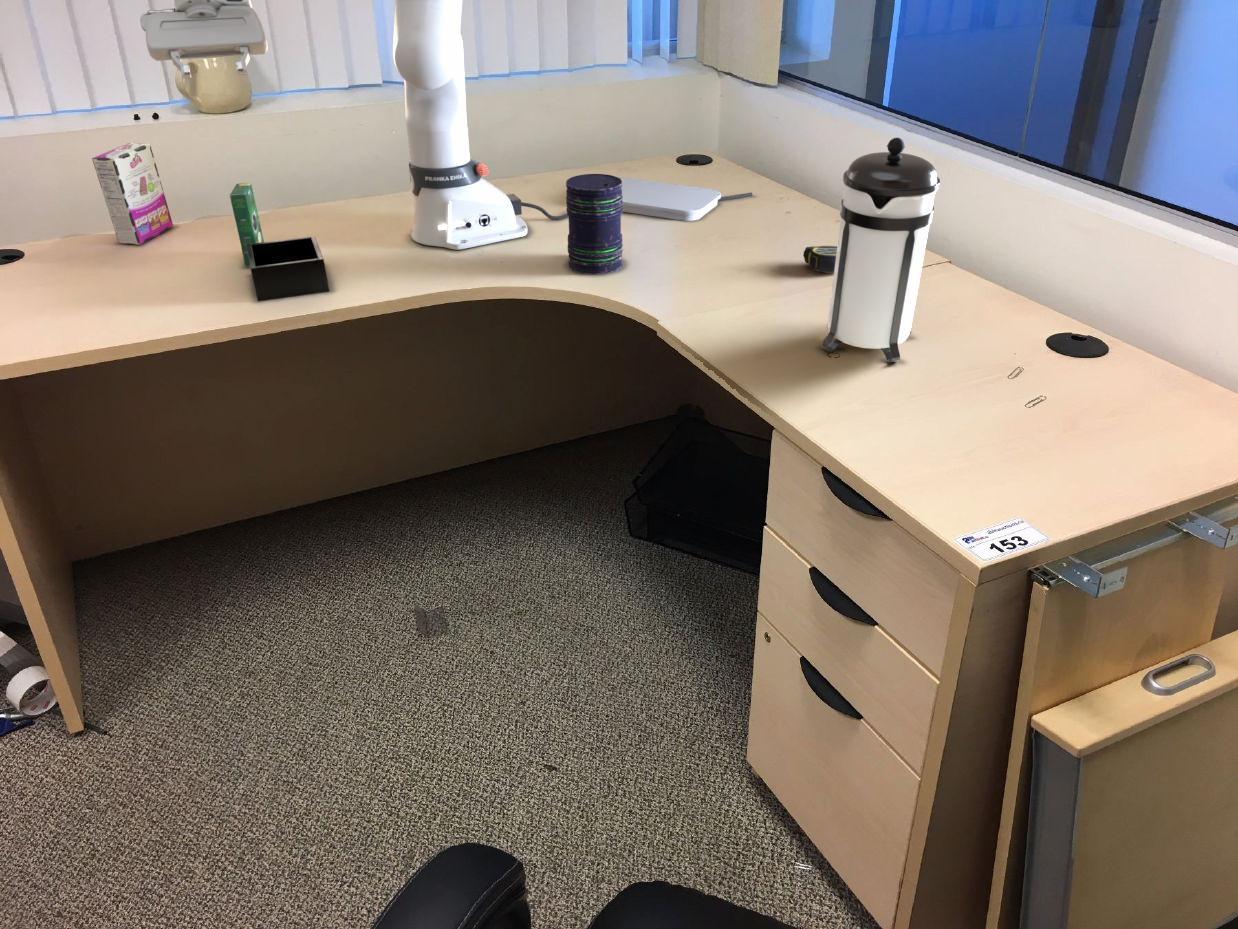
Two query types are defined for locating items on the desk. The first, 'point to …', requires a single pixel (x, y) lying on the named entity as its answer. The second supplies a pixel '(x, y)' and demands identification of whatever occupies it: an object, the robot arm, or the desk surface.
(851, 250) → the coffee press
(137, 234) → the candy bar box
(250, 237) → the coffee box
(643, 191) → the tablet
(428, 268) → the desk surface
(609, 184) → the storage jar
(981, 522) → the desk surface
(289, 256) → the desk tray
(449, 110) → the robot arm
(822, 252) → the tape measure
